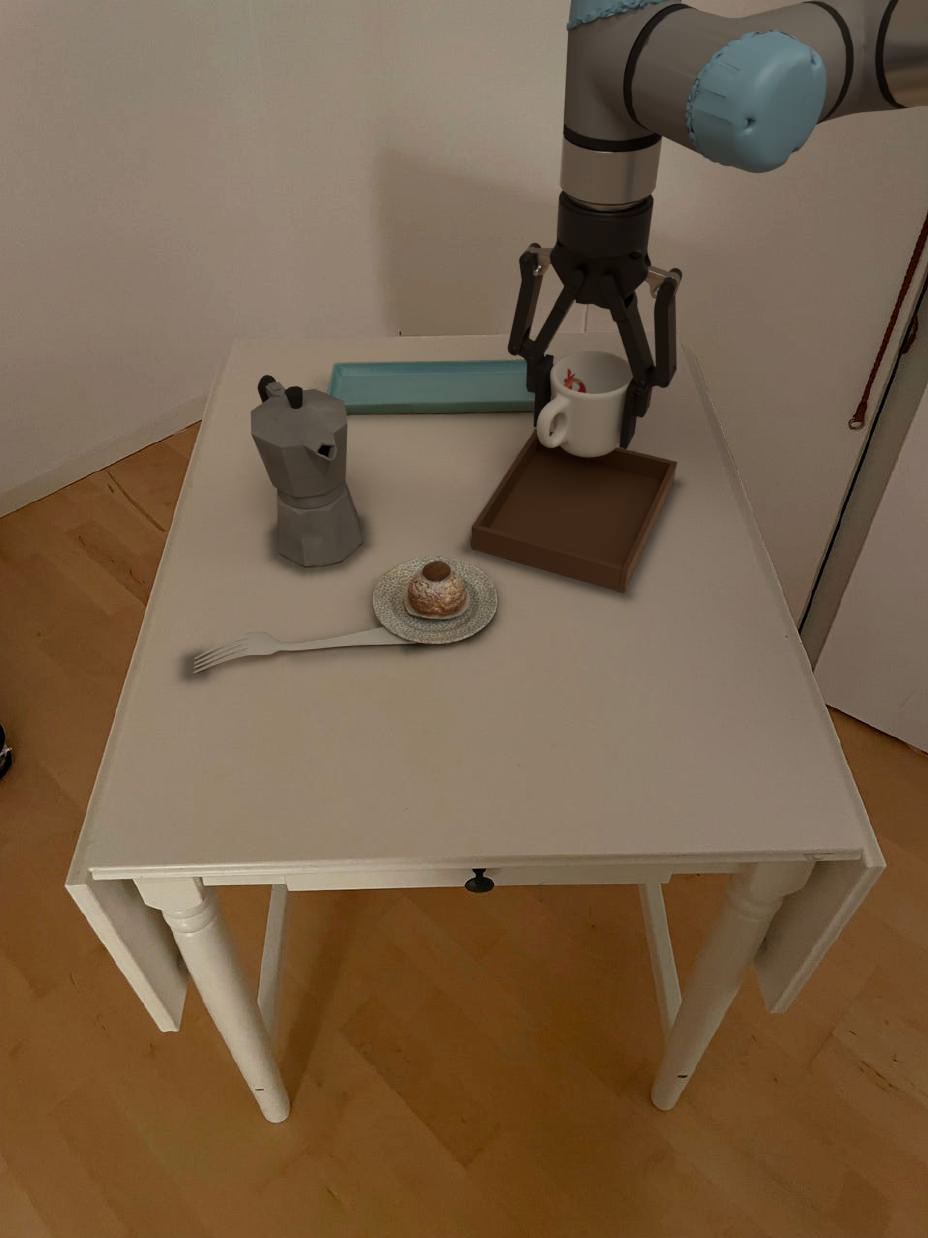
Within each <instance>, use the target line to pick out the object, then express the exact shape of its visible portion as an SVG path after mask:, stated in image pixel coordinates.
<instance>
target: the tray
mask: <svg viewBox="0 0 928 1238" xmlns="http://www.w3.org/2000/svg"><path fill="white" fill-rule="evenodd" d="M553 432H554V431H551V430H549V435H550V436H551V435H552V434H553ZM677 467H678V461H676V460H671V459H667V458H663V457H659V456H655V455H651V454H647V453H642V452H639V451H636V450H635V451H634V450H630V449H623V448H619V446H617V447H616V448H615V449H614V450H613V451H611V452H609V453H608V454H605V455H602V456H598V457H580V456H576V455H573V454H571V453H569V452H567V451H565V450H564V449H563V448H562V447H561V446H560V445H559V446H557V447H554V448H548V447H546V446H544V445H543V444H541V442H540V441H539V439H538V436H537V428H536V427H535V428H534V430H533V432H532V433H531V435H530V436H529V438H528V439H527V441H526V442H525V444H524V445H523V446H522V449H521V450H520V451H519V453H518V455H517V456H516V458H515V459H514V461H513V463H512V464H511V466H510V467H509V468H508V470H507V472H506V473H505V475H504V476H503V478H502V480H501V481H500V483H499V484H498V486H497V487H496V489H495V490H494V492H493V493H492V495H491V496H490V497H489V500H488V501H487V502H486V504H485V506H484V507H483V509H482V510H481V512H480V514H479V515H478V516H477V518H476V520H475V521H474V523H473V524H472V526H471V550H475V551H477V552H481V553H484V554H487V555H491V556H495V557H499V558H502V559H506V560H509V561H512V562H515V563H519V564H523V565H527V566H530V567H533V568H536V569H540V570H542V571H543V570H544V571H548V572H551V573H554V574H557V575H561V576H564V577H568V578H572V579H574V580H575V579H576V580H577V581H581V582H585V583H589V584H592V585H595V586H599V587H602V588H605V589H606V588H607V589H610V590H613V591H616V592H619V593H623V594H624V593H625V592H626V590H627V588H628V585H629V583H630V581H631V579H632V576H633V574H634V572H635V570H636V568H637V565H638V564H639V561H640V558H641V557H642V554H643V552H644V550H645V547H646V545H647V543H648V541H649V539H650V536H651V534H652V532H653V530H654V528H655V525H656V523H657V521H658V519H659V516H660V514H661V512H662V510H663V507H664V506H665V503H666V501H667V499H668V496H669V493H671V489H672V487H673V485H674V482H675V476H676V472H677Z"/></svg>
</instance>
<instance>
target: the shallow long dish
mask: <svg viewBox="0 0 928 1238" xmlns="http://www.w3.org/2000/svg"><path fill="white" fill-rule="evenodd" d="M526 376H527V363H526V360H525V359H524V358H519V359H518V358H517V359H516V358H515V359H513V358H511V359H478V360H475V359H470V360H469V359H468V360H467V359H466V360H418V361H417V360H413V361H412V360H409V361H407V360H406V361H403V360H401V361H354V362H353V361H352V362H335V363H333V365H332V369H331V375H330V380H329V384H328V389H327V394H329V395H331V396H334V397H336V398H339V399H341V400H343V401H344V403H345V409H346V415H383V414H384V415H387V414H389V415H391V414H393V415H395V414H396V415H397V414H403V415H404V414H448V413H449V414H452V413H492V412H494V413H495V412H496V413H497V412H532V411H533V412H534V405H535V393H532V392H528V391H527V388H526V378H527V377H526Z"/></svg>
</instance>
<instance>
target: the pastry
mask: <svg viewBox="0 0 928 1238" xmlns="http://www.w3.org/2000/svg"><path fill="white" fill-rule="evenodd" d="M498 603H499V602H498V592H497V589H496V586H495V585H494V583H493V581H492V579H491V578H490V577H489V575H488V574H487V573H486V572H484V571H483V570H482V569H481V568H479V567H477V566H476V565H473V564H472V563H469V562H466V561H464V560H461V559H458V558H454V557H445V556H440V555H439V556H438V555H432V556H431V555H430V556H421V557H417V558H413V559H410V560H408V561H405V562H402V563H398V564H397V565H395V566H394V567H393V568H391V569H390V570H389V571H387V572H385V573H384V574H383V575H382V576H381V577H380V578H379V579H378V580H377V583H376V584H375V586H374V588H373V592H372V599H371V604H372V605H371V606H372V609H373V611H374V614H375V617H376V618H377V621H378V622H380V624H381V625H382V627H385V628H386V629H388V630H389V631H390V632H392V633H394V634H396V635H398V636H400V637H402V638H405V639H406V640H407V641H409V642H412V641H414V642H417V643H418V644H430V645H436V644H437V645H441V644H450V643H454V642H458V641H459V642H460V641H462V640H465V639H467V638H469V637H472V636H473V635H475V634H477V633H478V632H480V631H481V630H482V629H484V628H485V627H486V626H487V625H489V623H490V622H491V621H492V619H493V618H494V616H495V613H496V611H497V609H498Z"/></svg>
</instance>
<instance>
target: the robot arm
mask: <svg viewBox="0 0 928 1238" xmlns="http://www.w3.org/2000/svg"><path fill="white" fill-rule="evenodd" d="M565 28H566V31H567V46H566V62H565V63H566V64H565V82H564V83H565V85H564V103H563V104H564V106H563V126H562V127H563V129H562V141H561V153H560V154H561V156H560V168H559V169H560V172H559V186H560V189H561V191H560V193H559V195H558V204H557V219H556V221H557V222H556V241H555V244H554V246H553V247H542V245H540V244H539V243H538V242H532V243H531V244H529V246H528V247H527V248H526V249H525V251H523V253H522V254H521V255H520V256H519V258H518V264H519V272H520V277H521V278H520V279H521V280H520V281H521V282H520V286H519V291H518V296H517V301H516V306H515V311H514V315H513V319H512V324H511V330H510V335H509V340H508V344H507V352H508V354H510V355H511V356H513V357H514V356H519V357H521V358H522V359H525V360H526V363H527V376H526V377H527V378H526V388H527V391H528V392H532V393H535V405H534V411H533V426H532V427H533V428H535V429H536V428H537V420H538V417H539V414H540V412H541V411H542V409H543V408H544V407H545V406H546V405H547V404H548V403H549V402H551V401H552V396H551V384H550V372H551V369H552V367H553V365H554V362H555V361H554V359H555V355H553V354H549V353H546V351H547V350H548V348H549V347H550V345H551V343H552V341H553V340H554V337H555V336H556V334H557V332H558V331H559V329H560V327H561V325H562V324H563V321H564V320H565V318H566V317H567V315H568V313H569V311H570V309H571V308H572V306H573V304H574V303H575V304H579V305H594V306H596V307H598V308H600V309H603V310H609V313H610V316H611V319H612V321H613V322H614V323H615V324H616V326H617V329H618V333H619V336H620V339H621V342H622V346H623V349H624V352H625V355H626V358H627V359H626V360H627V361H628V362H629V365H630V368H631V371H632V374H633V378H632V380H631V382H630V384H629V385H628V387H627V390H626V397H625V405H624V412H623V420H622V428H621V435H620V443H619V444H618V448H622V449H626V450H628V447H629V445H630V444H631V442H632V440H633V438H634V436H635V434H636V428H637V421H638V418H641V419H643V418H644V417H645V416H646V414H647V412H648V410H649V408H650V406H651V402H652V401H651V400H652V394H653V388H654V387H658V388H660V389H666V388H668V387H669V386H670V384H671V382H672V380H673V378H674V376H675V374H676V372H677V369H678V362H677V361H678V360H677V359H678V358H677V303H676V301H677V298H676V295H677V292H678V290H679V287H680V285H681V282H682V279H683V272H682V269H680V268H678V267H673V268H671V269H669V271H667V270H665V269H662V268H659V267H657V266H654V265H652V261H651V259H650V256H649V249H648V248H649V240H650V233H651V225H652V219H653V218H652V217H653V209H654V203H655V199H654V196H653V192H654V191H655V189H656V188H657V181H658V173H659V165H660V157H661V151H662V143H663V137H664V138H666V139H668V140H669V141H672V142H674V143H676V144H678V145H680V146H682V147H684V148H686V149H688V150H691V151H692V152H695V153H696V154H699V155H701V156H702V157H703V158H705V159H706V160H709V161H710V162H712V163H713V164H716V163H718V164H719V165H721V166H723V167H732V168H735V169H738V170H741V171H744V172H748V173H751V174H764V173H769V172H772V171H774V170H777V169H778V168H780V167H782V166H784V165H785V164H786V163H787V162H788V160H789V158H790V156H791V155H792V154H793V153H796V152H799V151H800V150H801V149H802V148H803V146H804V145H805V144H806V143H807V141H808V140H809V138H810V137H811V135H812V133H813V132H814V130H815V128H816V126H817V125H819V124H821V123H824V122H828V121H833V120H835V119H838V118H841V117H845V116H850V115H856V114H861V113H873V112H884V111H895V110H896V111H897V110H903V109H910V108H911V109H912V108H918V107H928V0H808V1H807V0H806V1H802V2H798V3H795V4H789V5H786V6H782V7H778V8H774V9H769V10H766V11H761V12H758V13H754V14H750V15H747V16H742V17H726V16H721V15H719V14H716V13H715V14H714V13H711V12H707V11H703V10H700V9H698V8H696V7H693V6H691V5H689V4H686V3H684V2H682V0H570V6H569V15H568V22H567V23H566V27H565ZM550 265H551V266H552V268H553V270H554V271H555V273H556V275H557V277H558V279H559V280H560V282H561V284H562V285H563V288H562V290H561V291H560V293H559V294H558V297H557V298H556V301H555V302H554V304H553V306H552V308H551V310H550V311H549V313H548V315H547V317H546V320H545V321H544V322H543V325H542V326H541V328H540V330H539V332H538V334H537V336H536V337H535V339H534V340H533V339H532V338H530V336H531V333H532V326H533V323H534V318H535V314H536V310H537V305H538V301H539V297H540V292H541V287H542V283H543V279H544V275H545V274H546V272H547V271H548V270H549V268H550ZM644 282H646V283H647V284H648V285H649V294H650V296H651V298H652V299H655V301H654V306H653V328H654V356H655V358H653V355H652V352H651V348H650V345H649V341H648V338H647V335H646V334H647V333H646V331H645V328H644V325H643V324H644V323H643V321H642V317H641V315H640V311H639V308H638V305H639V303H638V302H639V300H638V295H637V292H636V290H637V289H638V288H639V287H640V286H641V285H642V284H643V283H644ZM545 353H546V354H545ZM654 359H655V361H654Z"/></svg>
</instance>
